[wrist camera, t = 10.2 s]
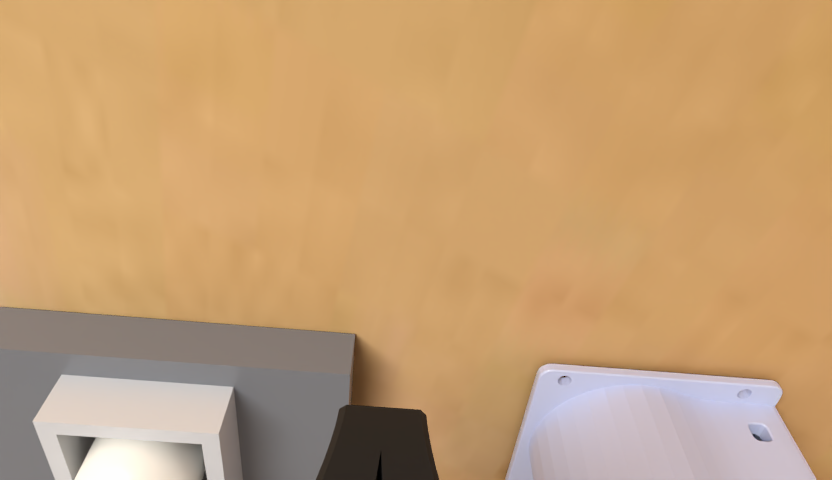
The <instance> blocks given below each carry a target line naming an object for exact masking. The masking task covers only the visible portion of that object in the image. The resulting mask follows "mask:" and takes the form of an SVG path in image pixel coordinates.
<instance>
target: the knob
mask: <svg viewBox="0 0 832 480" xmlns="http://www.w3.org/2000/svg"><path fill="white" fill-rule="evenodd" d="M205 470H206V469H205V462H204V456H203V449H202V444H189V443H174V442H159V441H144V440H129V439H115V438H100V437H96V438H95V440H94V442H93V444H92V446H91V448H90V450H89V452H88V454H87V456H86V458H85V460H84V462H83V464H82V466H81V468H80V469H79V471H78V473H77V475H76V477H75V479H74V480H202V479H203V476H204V473H205Z"/></svg>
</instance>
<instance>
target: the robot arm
mask: <svg viewBox="0 0 832 480" xmlns="http://www.w3.org/2000/svg"><path fill="white" fill-rule="evenodd" d="M562 376H566V377H563V378H560V377H562ZM782 393H783V391H782V389H781V387H780V385H779V384H778V383H777V382H776V381H773V380H763V379H750V378H737V377H723V376H710V375H697V374H684V373H670V372H657V371H644V370H631V369H617V368H604V367H591V366H578V365H564V364H546V365H543V366H542V367H540V368H539V370H538V371H537V374H536V377H535V381H534V384H533V387H532V391H531V394H530V397H529V401H528V404H527V407H526V411H525V414H524V418H523V421H522V424H521V428H520V431H519V434H518V438H517V441H516V444H515V448H514V451H513V454H512V458H511V461H510V465H509V468H508V471H507V475H506V478H505V480H817V479H816V477H815V476H814V474H813V472H812V470H811V469H810V467H809V465H808V463H807V462H806V460H805V458H804V456H803V455H802V453H801V451H800V449H799V448H798V446H797V444H796V443H795V441H794V439H793V437H792V436H791V434H790V432H789V430H788V429H787V427H786V425H785V423H784V422H783V420H782V418H781V416H780V415H779V413H778V411H777V409H776V408H775V405H776V404H777V402H778V401H779V399H780V398H781V396H782ZM316 480H439V478H438V474H437V470H436V466H435V462H434V458H433V454H432V449H431V444H430V439H429V433H428V427H427V418H426V415H425V414H424V413H423V412H422V411H421V410H414V409H400V408H386V407H372V406H358V405H345V406H343V407H341V408H340V409H339V412H338V416H337V421H336V425H335V428H334V431H333V435H332V438H331V441H330V444H329V447H328V450H327V452H326V455H325V458H324V461H323V463H322V466H321V468H320V470H319V473H318V475H317V478H316Z"/></svg>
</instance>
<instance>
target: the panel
mask: <svg viewBox="0 0 832 480" xmlns="http://www.w3.org/2000/svg"><path fill="white" fill-rule="evenodd" d="M354 347H355V334H347V333H334V332H321V331H307V330H294V329H281V328H268V327H255V326H242V325H229V324H216V323H203V322H190V321H177V320H164V319H151V318H138V317H125V316H112V315H98V314H85V313H72V312H59V311H46V310H33V309H20V308H7V307H0V480H74V479H75V477H76V475H77V473H78V471H79V469H80V468H81V466H82V464H83V462H84V460H85V458H86V456H87V454H88V452H89V450H90V448H91V446H92V444H93V442H94V440H95V438H96V437H100V438H115V439H129V440H144V441H159V442H174V443H189V444H202V449H203V456H204V462H205V469H206V470H205V473H204V476H203V479H202V480H316V478H317V475H318V473H319V470H320V468H321V466H322V463H323V461H324V458H325V455H326V452H327V450H328V447H329V444H330V441H331V438H332V435H333V431H334V428H335V425H336V421H337V416H338V412H339V409H340V408H341V407H343V406H345V405H351V400H352V382H353V365H354Z"/></svg>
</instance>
